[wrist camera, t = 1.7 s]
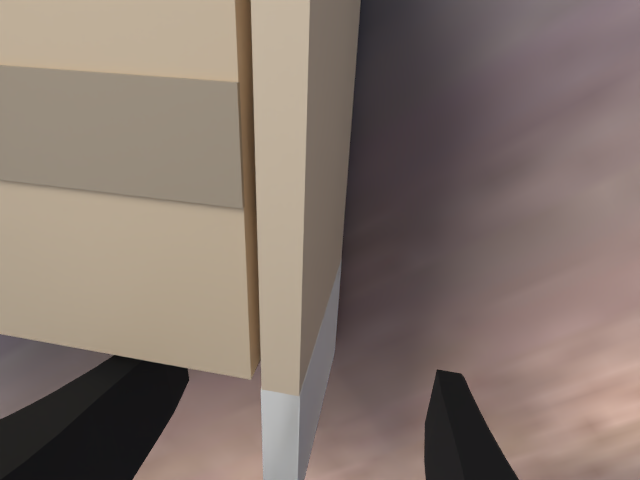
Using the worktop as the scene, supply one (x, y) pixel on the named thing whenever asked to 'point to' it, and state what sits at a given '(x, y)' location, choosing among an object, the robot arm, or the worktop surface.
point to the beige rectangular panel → (299, 210)
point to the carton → (130, 180)
